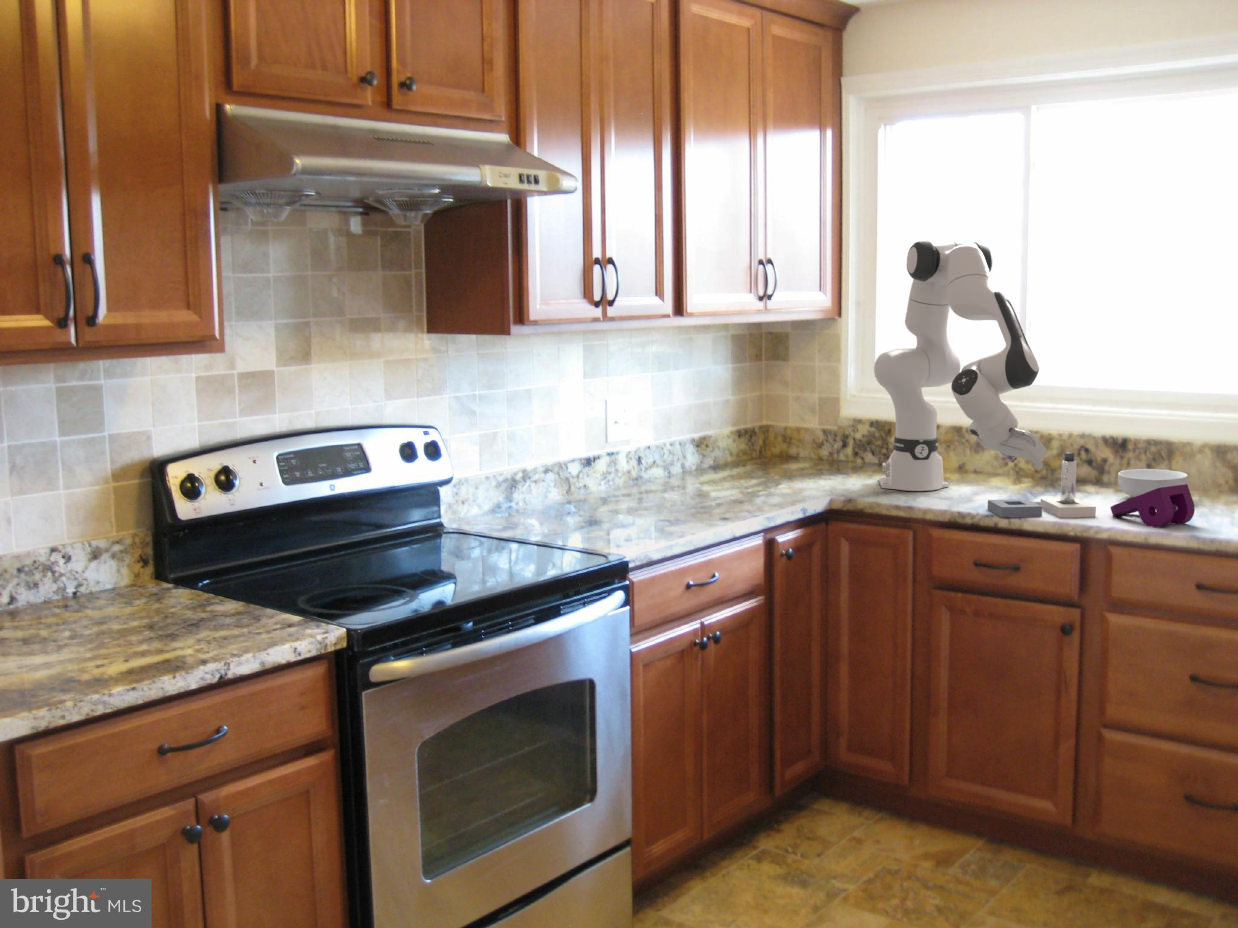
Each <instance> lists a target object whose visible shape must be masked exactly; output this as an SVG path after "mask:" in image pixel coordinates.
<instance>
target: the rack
mask: <svg viewBox="0 0 1238 928" xmlns="http://www.w3.org/2000/svg"><path fill="white" fill-rule="evenodd" d="M1039 502H1040V506H1042V511H1045V512H1047V513H1048V514H1051V515H1053V516H1055V517H1056V518H1058V519H1059V518H1061V519H1062V518H1095V517H1096V511H1097V507H1096V506H1095V505H1093V504H1091V503H1088V502H1086V501H1083V500H1082V499H1079V498H1077V497H1075V504H1060V498H1051V497H1050V498H1040V501H1039Z"/></svg>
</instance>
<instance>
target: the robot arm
mask: <svg viewBox="0 0 1238 928" xmlns="http://www.w3.org/2000/svg"><path fill="white" fill-rule="evenodd" d="M911 245H912V246H910V248H909V249H908V253H907V256H906V270H907V272H908V275H909V276H910V277H911V278H912V283H911V287H910V290H909V296H908V303H907V307H906V314H905V318H904V319H905V320H904V323H905V327H906V329H907V330H908V332H910V333H911V334H912V335H914V336H915V338H916V346H915V348H897V349H892V350H888V351H885V352H883V353H881V354H879V355H878V356H877V358H876V360H875V362H874V367H873V372H874V373H873V374H874V377H875V380H876V381H877V382H878V384H879V385H880V386H882V388H884V389H885V391H887V393H888V395H889V397H890V398H891V401H892V403H893V406H894V407H893V408H894V412H895V413H894V414H895V436H894V438H893V442H892V443H893V445H892V449H893V451H892V453H891V454H890V456H889V458H888V460H887V461H886V462H882V463H881V464H882V466H881V470H882V472H885V475H884V476H883V475H882V476H879V477H878V481H879V485H880V487H881V488H882V489H891V490H898V491H899V490H900V491H909V492H926V491H935V490H936V491H937V490H941V489H943V488H948V487H949V482H947V481H944V463H943V462H944V461H943V460H944V459H943V457H942V456H941V455H940V454H939V453H938V450H939V449H938V448H939V438H938V437H937V430H938V429H937V426H938V425H937V424H938V420H937V419H938V412H937V409H936V408H935V407H934V405H932V404H931V403H929V402H928V401H926V400H925V398H924V396H923V393H922V389H923V388H937V387H941V386H944V385H948V384H951V386H950V387H951V388H950V389H951V392H952V394H953V397H954V399H955V400H956V402H957V404H958V406H959V408H961V410H962V412H963V413H964V415H965V416H966V417H967V418H968V419H970V420H971V421H972V422H971V423H970V425H968V427H967V431H968V433H970V434H971V435H973V437H975V439H976V440H977V441H978V443H980V445H981V446H983V448H985V449H986V450H988V451H989V450H990V451H993V452H996V453H999V454H1000V455H1001V456H1002V457H1003V458H1005V459H1006V461H1007V462H1008V463H1015V462H1016V461H1017V459H1018V458H1019V459H1023V460H1025V461H1030V462H1032V464H1031V467H1033V469H1034V470H1037V471H1041V470H1042V469H1043V468H1044V463H1043V460H1044V459H1045V458H1046V456H1047V455H1048V449H1047V448H1046V446H1045V445H1044V444H1043V443H1042V442H1041V441H1040V439H1039V438H1038V437H1037V436H1036V435H1034V433H1032V432H1030V431H1027V430H1024V429H1020V428H1018V426H1019V421H1018V419H1017V418H1016V416H1015V415H1014V414H1013V412H1012V411H1011V409H1010V407H1008V406H1007V404H1006V403H1004V402H1003V401H1002V400H1001V397H1000V396H1001V395H1002V394H1005V393H1009V392H1010V391H1011V392H1012V391H1014V390H1017V389H1022V388H1025V387H1030V386H1031V385H1033V383H1034V382H1035V381H1036V379H1037V377H1038V373H1039V371H1040V370H1039V369H1040V367H1039V364H1038V360H1037V359H1036V357H1035V355H1034V352H1033V351H1032V349H1031V347H1030V345H1029V343H1028V341H1027V338H1026V336H1025V333H1024V331H1023V328H1022V326H1021V323H1020V321H1019V319H1018V316H1017V313H1016V311H1015V309H1014V306H1013V305H1012V303H1011V301H1010V299H1009V298H1008V297H1007V296H1006V294H1005V293H1003V292H1002V291H1000V290H999V291H997V290H996V289H995V288H994V286H993V281H992V279H991V278H992V277H991V271H992V267H993V254H992V251H991V249H990V247H989V246H988V245H986V244H984V243H980V242H975V241H974V242H971V241H970V242H969V241H964V240H956V239H955V240H953V239H951V240H931V241H930V240H929V239H928V240H927V239H925V240H920V241H916V242H915V243H913V244H911ZM950 309H951V311H952V312H953V313H954V314H956V316H959V317H960V318H962V319H966V320H970V321H996V322H997V324H998V326H999V327H998V328H999V329H1000V332H1001V334H1002V337H1003V340H1004V342H1005V347H1004V348H1003V349H1002V350H1001V351H998V352H997V353H994V354H991V355H987V356H985V357H983V358H980V359H978V360H977V359H976V360H974V361H972V362H970V363H967V364H966V365H963V367H962V369H961V360H960V358H959V356H958V354H957V353H956V351H954V350H953V349H952V347H951V346H950V343H949V339H948V332H947V328H948V320H949V314H950Z"/></svg>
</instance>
